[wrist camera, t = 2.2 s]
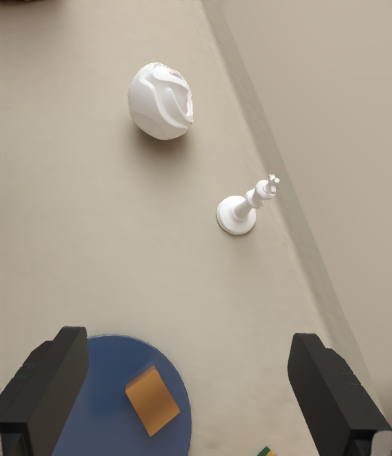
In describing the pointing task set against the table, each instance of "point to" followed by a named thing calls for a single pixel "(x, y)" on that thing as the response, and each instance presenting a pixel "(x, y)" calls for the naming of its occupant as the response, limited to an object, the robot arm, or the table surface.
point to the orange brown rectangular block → (152, 400)
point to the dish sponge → (266, 452)
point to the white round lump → (160, 101)
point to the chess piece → (245, 207)
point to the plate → (122, 404)
